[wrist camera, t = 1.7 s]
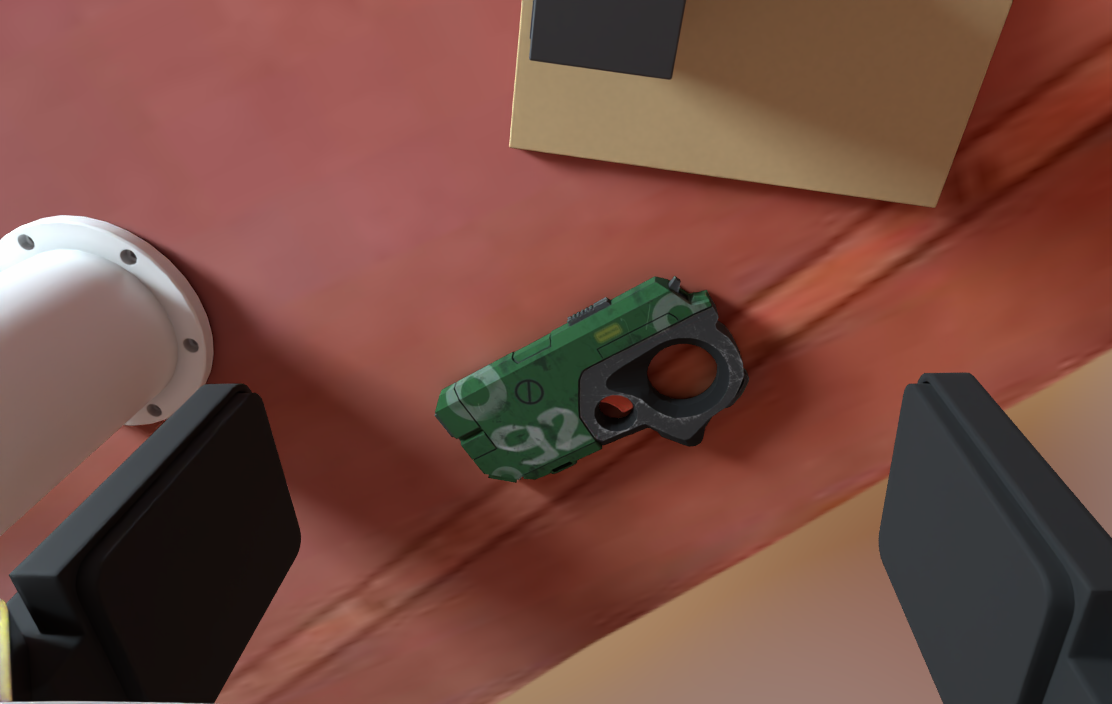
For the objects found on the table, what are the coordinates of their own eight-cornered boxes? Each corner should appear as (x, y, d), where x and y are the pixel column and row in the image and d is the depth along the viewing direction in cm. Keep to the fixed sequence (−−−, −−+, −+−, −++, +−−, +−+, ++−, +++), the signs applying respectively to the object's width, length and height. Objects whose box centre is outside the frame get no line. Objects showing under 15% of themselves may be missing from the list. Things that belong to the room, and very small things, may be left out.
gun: (521, 526, 44) (421, 402, 40) (524, 510, 45) (428, 388, 42) (775, 415, 39) (686, 262, 35) (770, 401, 40) (684, 251, 37)
